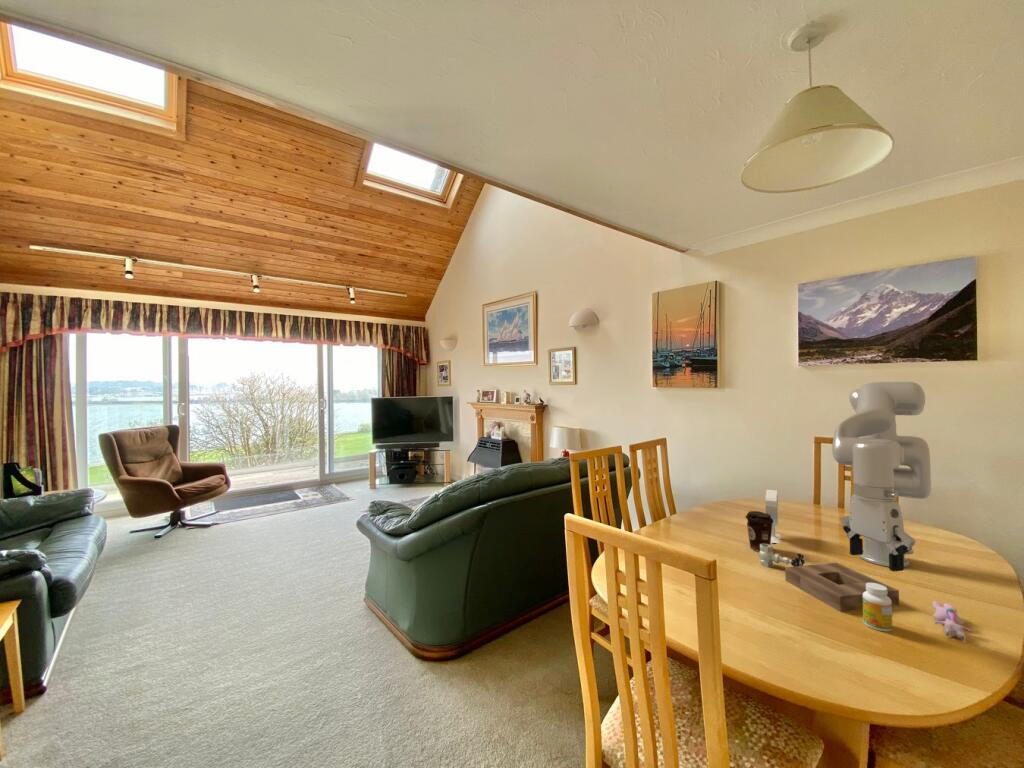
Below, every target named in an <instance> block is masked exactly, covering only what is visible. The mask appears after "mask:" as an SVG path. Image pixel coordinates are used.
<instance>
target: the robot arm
mask: <svg viewBox="0 0 1024 768" xmlns="http://www.w3.org/2000/svg"><path fill="white" fill-rule="evenodd" d="M848 398H849V402H850V406H851V407H852V409H853V410H854V411H855V414H852V415H850V416H849V417H847V418H846V419H844V420H843V421H841V422H840V423H839V424H838V425H837V426H836V428H835V430H834V433H833V440H832V448H831V451H832V453H831V454H832V457H833V458H834V459H833V460H835V462H836V463H838V464H840V465H844V466H852V470H853V473H852V474H853V477H852V478H853V493H852V494H851V499H850V504H849V514H848V515H847V516H842V517H840V518H839V520H840V523H841V525H842V530H843V531H844V532H845V534H846V537H847V539H848V540H849V554H850V555H851V556H859V557H860V558H861V559H862V560H864V561H866V562H868V563H871V564H874V565H879V566H884V567H888V568H889V571H890V572H891V571H892V572H902V571H904V569H905V568H907V567H909V566H910V562H909V560H908V558H905V556H906V555H913V554H914V550H913V549H912V548H913V547H914V545H915V544H916V539H914V538H913V537H912V536H911V535H909V534H908V533H907V532H906V531H905V526H904V519H903V514H902V510H901V506H900V503H899V502H898V500H895V499H897V498H898V497H899V498H905V499H906V498H908V499H916V500H925V499H927V498H928V497H930V495H931V491H932V476H931V473H932V472H931V454H930V447H929V445H928V442H927V441H926V440H925V439H923V438H921V437H918V436H911V435H910V436H909V435H898V434H897V422H896V416H918V415H920V414H922V412H923V411H924V408H925V405H926V393H925V391H924V389H923V387H922V386H921V385H920V384H919V383H917V382H914V381H876V382H868V383H866V384H864V385H862V386H861V387H860V388H857V389H854V390H852V391H850V393H849V397H848ZM900 466H904V467H900ZM905 466H906V467H905ZM861 537H863V539H862V538H861ZM863 540H864V541H863ZM863 543H864V545H863Z"/></svg>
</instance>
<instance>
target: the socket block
mask: <svg viewBox="0 0 1024 768" xmlns="http://www.w3.org/2000/svg"><path fill="white" fill-rule="evenodd" d="M784 569H785V571H784V573H785V574H784V575H785V581H786V582H787V581H788V582H787V583H789V584H791V585H792V586H795V587H796V588H798V589H799V590H802V591H803V592H805V593H806V594H809V595H811V596H812V597H814V598H816V599H818V600H819V601H820V602H822V603H824V604H826V605H828V606H829V607H831V608H832V609H835V610H837V611H838V612H841V613H843V612H851V611H860V609H862V610H863V593H864V592H865V591H867V590H866V583H877V584H880V585H883V586H885V587H886V588H887V592H888V594H887V595H886V596H888V597H889V598H890V599H891V602H892V607H894V606H893V605H898V606H900V592H899V589H896V588H894V587H892V586H890V585H887V584H885V583H883V582H881V581H879V580H876V579H874V578H873V577H871V576H870V577H869V576H867V575H865V574H863V573H861V572H858V571H857V570H854V569H852V568H849V567H847V566H845V565H843V564H841V563H838V562H830V563H828V562H827V563H820V564H810V565H809V564H807V565H803V566H795V567H793V566H787V567H786V566H785V567H784Z"/></svg>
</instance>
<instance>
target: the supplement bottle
mask: <svg viewBox="0 0 1024 768" xmlns="http://www.w3.org/2000/svg"><path fill="white" fill-rule="evenodd" d="M866 590H867V591H865V592H864V593H863V609H862V622H863V623H864V624H865V626H867V627H869V628H871V629H874V630H876V631H879V632H891V631H892V630H893V610H892V609H893V606H892V602H891V599H890V598H889V597H888V596H886V595H887V594H888V592H887V588H886V587H885V586H883V585H880V584H877V583H866Z"/></svg>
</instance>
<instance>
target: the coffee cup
mask: <svg viewBox="0 0 1024 768" xmlns="http://www.w3.org/2000/svg"><path fill="white" fill-rule="evenodd" d="M745 519H747V522H746V525H747V533H748V535H747V536H748V540H749V547H750V549H751V550H753V551H756V552H760V544H769V545H771V546H772V544H771V532H772V531H771V530H772V523H773V520H772V518H771V516H770V515H769V514H766V512H763V511H760V510H759V511H758V510H757V511H756V510H755V511H754V510H752V511H751V510H750V511H748V512H747V514H746V515H745Z"/></svg>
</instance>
